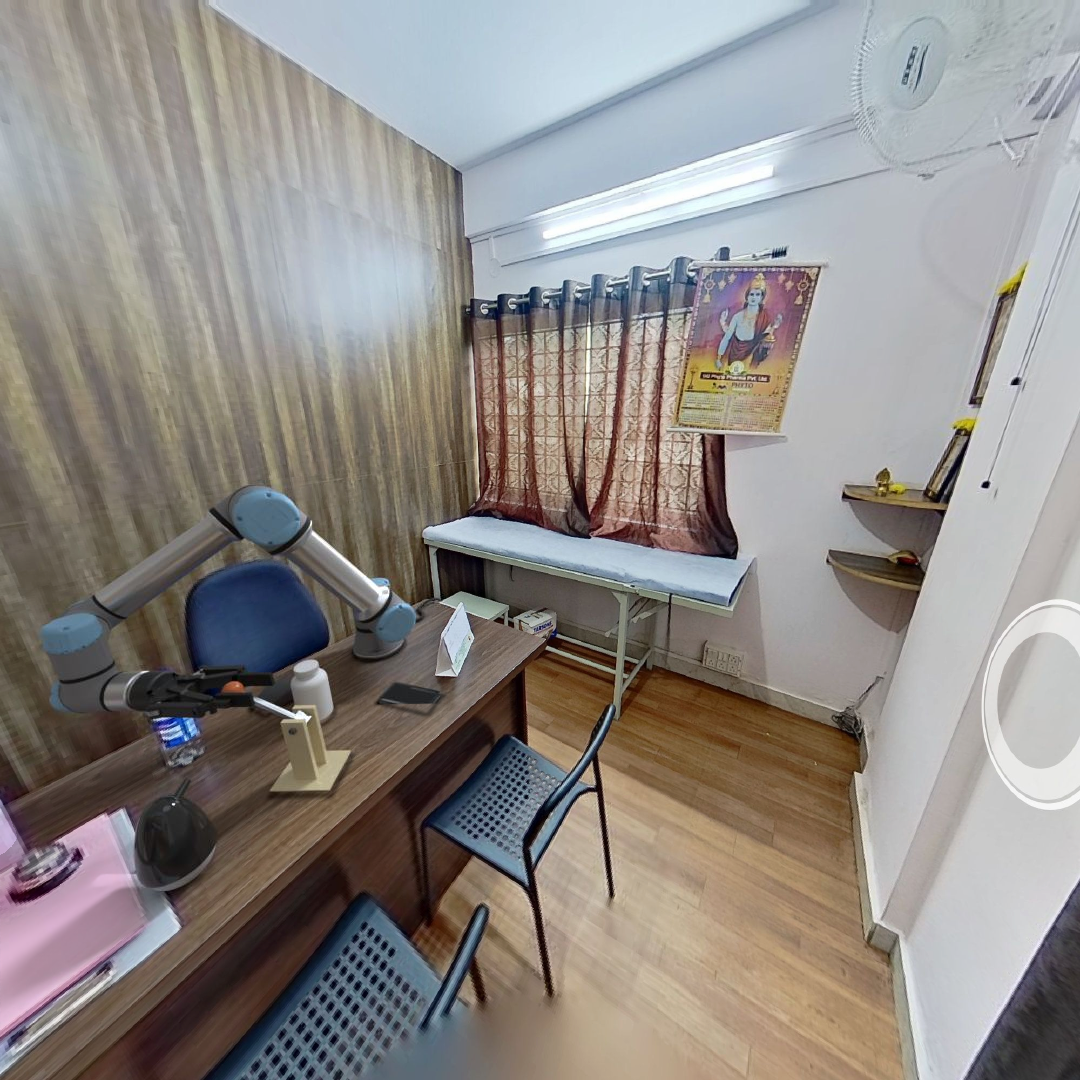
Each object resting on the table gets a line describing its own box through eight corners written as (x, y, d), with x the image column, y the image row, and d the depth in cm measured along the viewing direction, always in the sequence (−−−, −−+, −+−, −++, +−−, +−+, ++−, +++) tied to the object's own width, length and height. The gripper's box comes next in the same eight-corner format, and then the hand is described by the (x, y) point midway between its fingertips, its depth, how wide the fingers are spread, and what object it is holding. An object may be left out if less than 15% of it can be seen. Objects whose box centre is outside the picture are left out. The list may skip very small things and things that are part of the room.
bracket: (270, 796, 83) (252, 732, 78) (298, 756, 92) (283, 697, 88) (330, 795, 83) (315, 731, 78) (352, 755, 92) (339, 696, 87)
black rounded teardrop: (238, 838, 75) (215, 773, 70) (189, 904, 65) (159, 834, 60) (184, 837, 75) (158, 772, 71) (127, 903, 65) (93, 832, 61)
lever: (214, 699, 80) (219, 686, 79) (227, 687, 83) (233, 674, 82) (298, 736, 82) (305, 724, 81) (308, 723, 86) (314, 711, 85)
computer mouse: (316, 687, 115) (313, 675, 114) (265, 718, 104) (262, 705, 103) (299, 678, 119) (296, 667, 118) (248, 707, 108) (245, 695, 107)
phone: (425, 711, 103) (376, 699, 108) (426, 714, 104) (377, 702, 108) (442, 691, 111) (395, 680, 115) (443, 694, 111) (396, 684, 116)
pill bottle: (320, 730, 100) (308, 677, 95) (291, 725, 101) (278, 673, 97) (341, 707, 107) (331, 657, 103) (314, 703, 109) (303, 654, 104)
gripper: (189, 677, 91) (293, 675, 91) (104, 742, 74) (234, 740, 73) (179, 648, 89) (286, 646, 89) (89, 707, 71) (223, 705, 71)
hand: (262, 689), depth 81 cm, fingers open, 5 cm apart
